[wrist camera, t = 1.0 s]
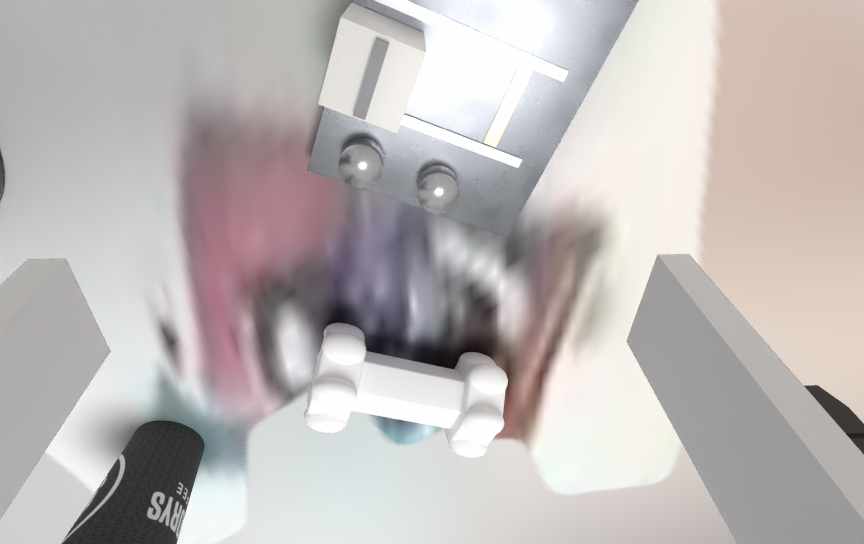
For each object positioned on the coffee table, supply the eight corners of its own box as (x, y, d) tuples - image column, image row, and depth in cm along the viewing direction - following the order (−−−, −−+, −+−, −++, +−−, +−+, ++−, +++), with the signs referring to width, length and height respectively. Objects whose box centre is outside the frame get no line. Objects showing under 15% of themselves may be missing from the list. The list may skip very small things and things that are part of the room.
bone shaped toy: (314, 363, 44) (295, 446, 38) (332, 297, 39) (314, 381, 33) (469, 395, 48) (475, 476, 41) (506, 337, 42) (519, 421, 36)
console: (312, 157, 33) (302, 180, 30) (391, -134, 24) (388, -141, 21) (502, 222, 36) (510, 249, 33) (629, -13, 28) (655, -6, 25)
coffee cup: (174, 480, 53) (103, 648, 41) (96, 434, 48) (-12, 609, 36) (240, 449, 50) (185, 619, 38) (164, 396, 45) (73, 572, 33)
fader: (331, 77, 28) (316, 106, 23) (352, 2, 26) (339, 18, 21) (399, 103, 29) (397, 136, 24) (424, 33, 26) (426, 55, 22)
